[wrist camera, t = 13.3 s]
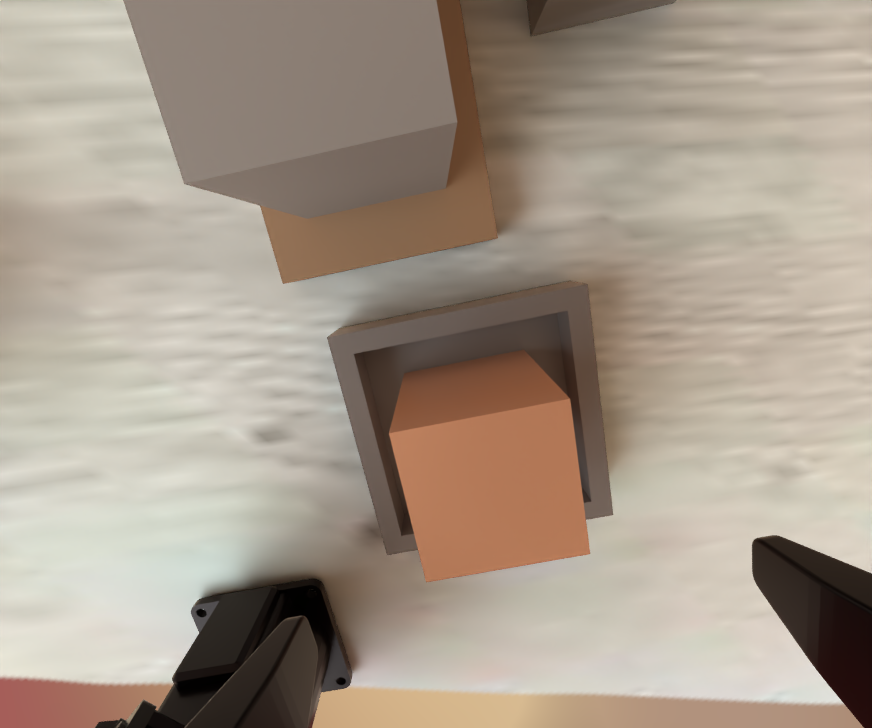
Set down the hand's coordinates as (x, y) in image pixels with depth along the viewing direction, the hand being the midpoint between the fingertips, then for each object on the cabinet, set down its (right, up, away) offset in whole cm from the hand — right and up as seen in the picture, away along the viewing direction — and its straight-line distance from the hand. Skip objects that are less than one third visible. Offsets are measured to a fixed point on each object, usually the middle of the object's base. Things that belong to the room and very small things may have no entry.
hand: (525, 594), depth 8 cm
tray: (0, +2, +10) cm, 10 cm away
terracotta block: (0, +2, +9) cm, 10 cm away
